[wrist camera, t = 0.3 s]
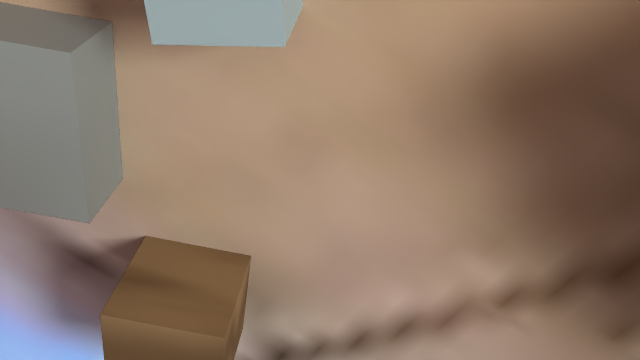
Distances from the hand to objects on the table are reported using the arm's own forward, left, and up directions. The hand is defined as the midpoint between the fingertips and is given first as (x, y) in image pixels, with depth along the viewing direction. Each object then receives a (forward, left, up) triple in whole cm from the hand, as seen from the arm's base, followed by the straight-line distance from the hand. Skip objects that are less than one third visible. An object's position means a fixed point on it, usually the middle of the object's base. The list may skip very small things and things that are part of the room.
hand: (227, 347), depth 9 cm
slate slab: (-4, +11, -14) cm, 18 cm away
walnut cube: (-13, +4, -14) cm, 19 cm away
